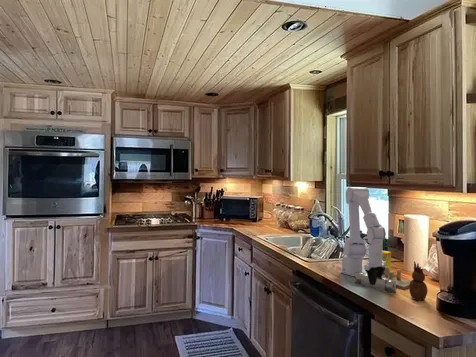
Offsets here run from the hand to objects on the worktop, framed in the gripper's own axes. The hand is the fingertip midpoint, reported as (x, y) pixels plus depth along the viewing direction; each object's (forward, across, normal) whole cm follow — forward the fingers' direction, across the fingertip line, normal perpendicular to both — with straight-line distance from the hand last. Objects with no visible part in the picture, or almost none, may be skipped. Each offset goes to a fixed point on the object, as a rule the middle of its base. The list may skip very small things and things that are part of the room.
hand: (374, 283), depth 157 cm
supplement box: (+2, +26, +11) cm, 28 cm away
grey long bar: (+1, 0, 0) cm, 1 cm away
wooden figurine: (+2, 0, -19) cm, 19 cm away
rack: (+1, +13, 0) cm, 13 cm away
